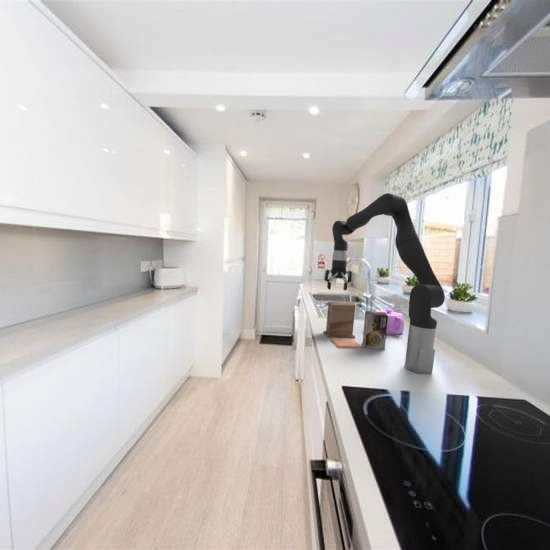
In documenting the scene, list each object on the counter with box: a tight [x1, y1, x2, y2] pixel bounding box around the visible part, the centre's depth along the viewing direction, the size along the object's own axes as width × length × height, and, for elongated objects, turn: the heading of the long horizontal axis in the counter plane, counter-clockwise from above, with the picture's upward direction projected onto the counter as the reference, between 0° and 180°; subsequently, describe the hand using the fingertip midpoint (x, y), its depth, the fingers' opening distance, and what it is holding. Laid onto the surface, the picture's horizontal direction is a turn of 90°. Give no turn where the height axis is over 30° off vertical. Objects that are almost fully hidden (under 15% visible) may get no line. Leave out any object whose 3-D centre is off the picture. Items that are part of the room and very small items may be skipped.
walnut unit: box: [323, 301, 356, 339], centre depth 153 cm, size 8×14×16 cm, turn 97°
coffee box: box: [362, 310, 388, 351], centre depth 139 cm, size 9×6×16 cm
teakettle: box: [373, 308, 405, 336], centre depth 168 cm, size 17×17×12 cm
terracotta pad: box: [330, 338, 363, 349], centre depth 141 cm, size 11×11×1 cm
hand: (337, 289), depth 160 cm, fingers open, 8 cm apart
